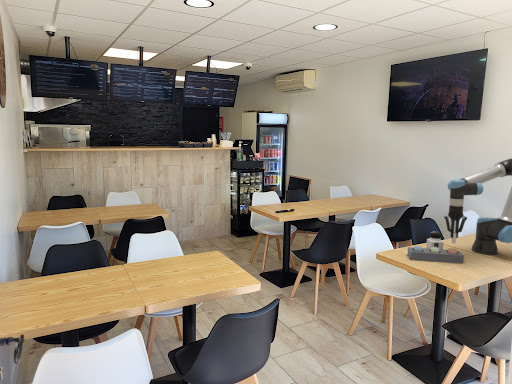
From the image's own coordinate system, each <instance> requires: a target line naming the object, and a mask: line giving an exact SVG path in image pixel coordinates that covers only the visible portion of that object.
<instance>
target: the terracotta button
mask: <svg viewBox="0 0 512 384" xmlns="http://www.w3.org/2000/svg"><path fill="white" fill-rule="evenodd" d="M447 250H448V253H449V254H457V250H458V249H457V248H453V247H452V248H451V247H449V248H448V249H447Z"/></svg>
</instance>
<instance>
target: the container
mask: <svg viewBox="0 0 512 384" xmlns="http://www.w3.org/2000/svg"><path fill="white" fill-rule="evenodd" d="M431 247H437V248H439V249H443V250H444V241H443V240H442V233H441V232H439V231H432V232H430V233H429V238H427V239H426V247H425V248H428V249H431Z"/></svg>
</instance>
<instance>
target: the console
mask: <svg viewBox="0 0 512 384" xmlns="http://www.w3.org/2000/svg"><path fill="white" fill-rule="evenodd" d="M407 256H408V259H409V260H410V261H423V262H435V263H436V262H437V263H438V262H439V263H450V264H451V263H452V264H462V265H463V264H464V262H465V261H464V260H465V259H464V258H465V255H464V254H463V252H461V251H460V250H458V249H457V254H449V253H448V249H444V248H443V249H439V253H434V252H431V249H428V248H426V247H425V248H424V247H422V252H419V251H414V246H413V247H412V246H411V247H409V246H408V247H407Z"/></svg>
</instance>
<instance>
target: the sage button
mask: <svg viewBox="0 0 512 384" xmlns="http://www.w3.org/2000/svg"><path fill="white" fill-rule="evenodd" d="M431 252H434V253H439V248H437V247H431Z"/></svg>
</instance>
